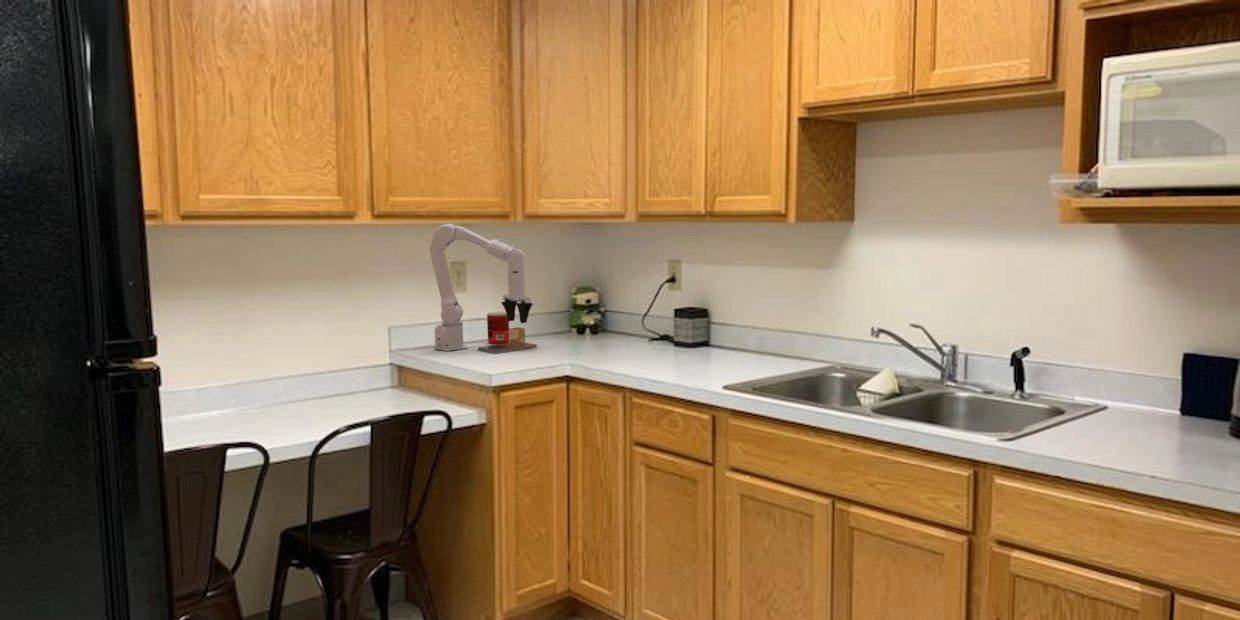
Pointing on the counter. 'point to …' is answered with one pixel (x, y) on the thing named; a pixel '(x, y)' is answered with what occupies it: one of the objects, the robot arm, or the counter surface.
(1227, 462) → the counter surface
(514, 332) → the birch peg
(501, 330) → the canned food
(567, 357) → the counter surface
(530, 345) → the rail plate
